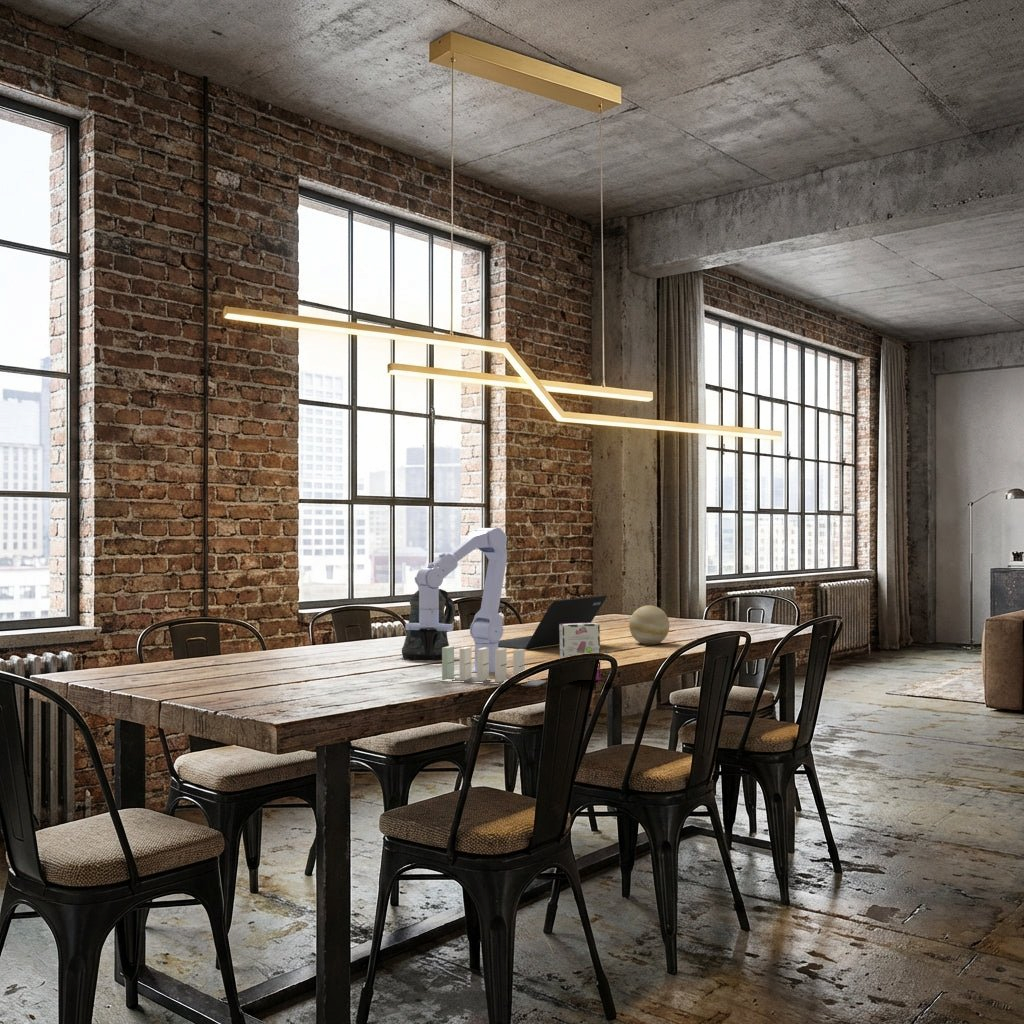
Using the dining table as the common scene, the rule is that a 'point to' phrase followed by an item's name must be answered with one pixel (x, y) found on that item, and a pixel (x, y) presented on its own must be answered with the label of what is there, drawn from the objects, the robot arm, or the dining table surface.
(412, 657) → the beer stein
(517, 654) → the domino
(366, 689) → the dining table surface
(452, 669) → the sage domino
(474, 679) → the mat
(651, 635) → the decorative ball
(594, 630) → the candy bar box
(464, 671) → the domino
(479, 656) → the domino
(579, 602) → the laptop
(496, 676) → the domino
